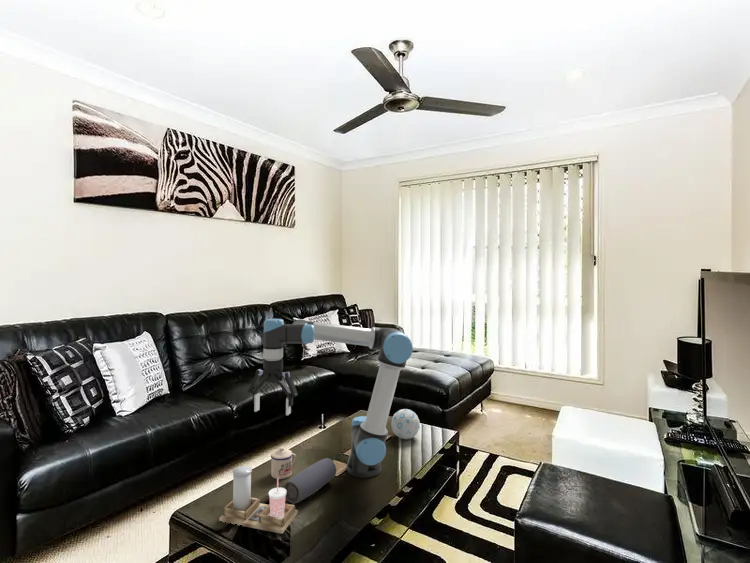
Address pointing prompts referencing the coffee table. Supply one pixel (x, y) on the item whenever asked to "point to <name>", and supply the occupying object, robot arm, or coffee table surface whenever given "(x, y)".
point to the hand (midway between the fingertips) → (272, 412)
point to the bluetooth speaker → (309, 480)
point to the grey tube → (242, 488)
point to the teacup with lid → (282, 463)
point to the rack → (259, 516)
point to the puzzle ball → (405, 424)
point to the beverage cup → (277, 501)
